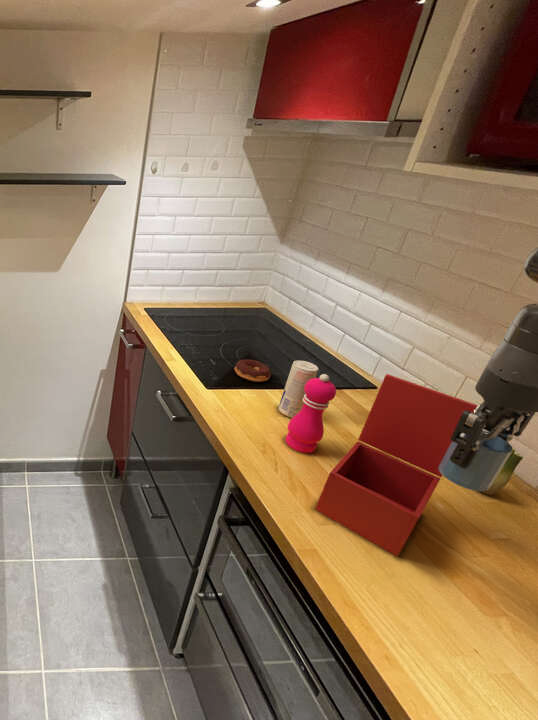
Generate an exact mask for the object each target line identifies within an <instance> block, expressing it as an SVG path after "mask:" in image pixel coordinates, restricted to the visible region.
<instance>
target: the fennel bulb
mask: <svg viewBox="0 0 538 720" xmlns="http://www.w3.org/2000/svg"><path fill="white" fill-rule="evenodd" d="M523 459H524V456H523V455H522V454H520V453H519V452H516V449H515V448H514V447H513V451H512V453H511V454H510V456H509V458H508V459H507V461H506V462H505V464H504V466H503V467H502V469H501V471H500V472H499V474H498V475H497V477H496V479H495V480H494V482H493V484H492V485H491V487H489V489H488V490H486V491H479V492H480V493H483V494H485V495H488V496H494V495H496V494H497V493H499V492H500V491H502V490H503V489H504V488H505V487H506V486H507V484H508V483H509V481H510V479H511V478H512V475H513V474H514V472H515V471H516V468H517V467H518V465H519V464H520V463H521V461H522V460H523Z"/></svg>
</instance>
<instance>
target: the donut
mask: <svg viewBox="0 0 538 720" xmlns="http://www.w3.org/2000/svg"><path fill="white" fill-rule="evenodd" d="M234 371H235V373H236V375H237V376H239V377H240V378H241V379H243V380H247V381H248V382H253V383H254V382H255V383H261V382H266V381H268V380H269V379H270V377H271V374H272V371H271V368H270V367H269V366H268V365H266V364H264V363H262V362H260V361H259V360H256V359H255V360H254V359H240V360H238V361H237V362H236V364H235V366H234Z"/></svg>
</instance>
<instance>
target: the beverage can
mask: <svg viewBox="0 0 538 720" xmlns="http://www.w3.org/2000/svg"><path fill="white" fill-rule="evenodd" d="M318 371H319V367H318V366H317V365H316V364H314V363H312V362H309V361H306V360H294V361H293V362H292V365H291V368H290V370H289V374H288V377H287V380H286V382H285V385H284V389H283V392H282V395H281V398H280V401H279V404H278V408H277V409H278V411H279V412H280V413H281V414H282V415H283V416H286V417H289V418H291V419H292V418H293V417H294V416H295V415H296V414H298V413H299V412H300V410H301V409H302V407H303V404H304V402H303V398H304V395H305V394H306V393H305V391H304V387H305V384H306V383H307V382H308V381H309V380H310V379H313V378H317V374H318Z"/></svg>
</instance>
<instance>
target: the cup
mask: <svg viewBox="0 0 538 720" xmlns="http://www.w3.org/2000/svg"><path fill="white" fill-rule="evenodd" d="M482 432H484V433H489V431H487V430H484V429H483V430H482ZM467 438H468V439H469V436H468V437H467ZM479 438H480V436H479ZM479 438H478V439H479ZM456 446H457V443H455V442H453V441H451V443H450V445H449V447H448V449H447V451H446V453H445V454H444V456H443V458H442V460H441V462H440V464H439V466H438V470H439V472H440V473H441V474H442V477H444V478H445V479H447V480H448V481H450V482H451V483H453V484H455V485H457V486H460V487H461V488H464V489H466V490H470V491H475V492H480V491H486V490H488V489H489V487H491V485H492V484H493V482H494V480H495V479H496V477H497V475H498V474H499V472H500V471H501V469H502V467H503V466H504V464H505V462H506V461H507V459H508V458H509V456H510V454H511V453H512V451H513V448H514V447H513V446H512V444H510V442H507V441H505V440H504V439H502V438H501V437H499V436H496V437H495V438H494V439H493V440H492V441H486V442H485V443H484V444H483V445H482V446H481V447H480V449H479V450H478V451H477V453H476V455H475V456H474V458H473V460H472V462H471V463H470V465H469V467H466V468H462V467H460V466H458V465H456V464H455V463H453V462H452V461H451V460H450V457H451V455H452V453H453V452H454V450H455V448H456Z"/></svg>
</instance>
